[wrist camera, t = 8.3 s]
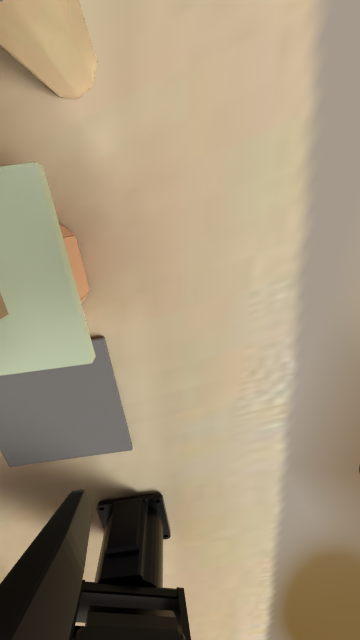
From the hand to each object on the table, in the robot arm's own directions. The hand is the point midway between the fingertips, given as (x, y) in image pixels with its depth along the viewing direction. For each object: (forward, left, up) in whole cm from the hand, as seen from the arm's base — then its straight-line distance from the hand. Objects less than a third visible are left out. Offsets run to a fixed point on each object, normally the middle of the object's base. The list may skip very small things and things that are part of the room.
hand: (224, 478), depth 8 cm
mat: (-5, +12, -12) cm, 18 cm away
